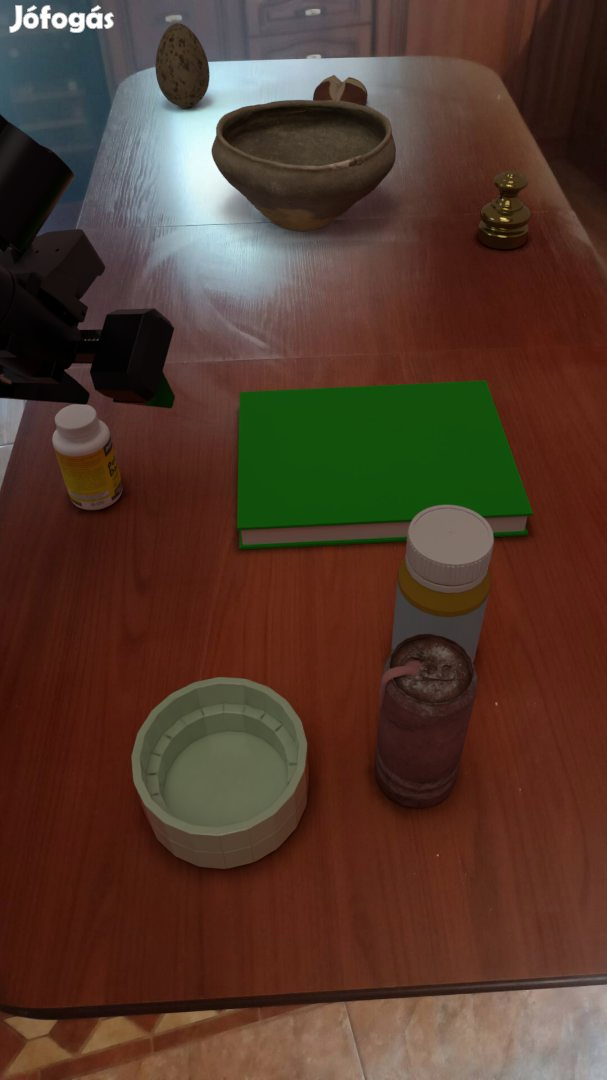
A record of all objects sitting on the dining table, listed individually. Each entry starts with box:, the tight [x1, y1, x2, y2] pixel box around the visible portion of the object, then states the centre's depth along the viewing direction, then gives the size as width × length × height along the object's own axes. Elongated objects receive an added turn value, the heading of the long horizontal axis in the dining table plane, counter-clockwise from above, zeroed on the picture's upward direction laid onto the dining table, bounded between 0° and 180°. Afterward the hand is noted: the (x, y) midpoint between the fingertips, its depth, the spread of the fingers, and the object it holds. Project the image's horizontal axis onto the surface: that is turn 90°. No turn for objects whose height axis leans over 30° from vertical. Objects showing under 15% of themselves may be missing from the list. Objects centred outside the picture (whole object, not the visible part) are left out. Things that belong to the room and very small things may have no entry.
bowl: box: [211, 99, 397, 232], centre depth 124 cm, size 28×28×14 cm
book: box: [236, 379, 534, 551], centre depth 85 cm, size 22×28×3 cm
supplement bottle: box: [51, 404, 124, 511], centre depth 80 cm, size 6×6×10 cm
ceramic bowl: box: [130, 676, 310, 870], centre depth 58 cm, size 12×12×6 cm
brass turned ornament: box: [477, 169, 532, 250], centre depth 118 cm, size 7×7×10 cm
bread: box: [312, 74, 368, 107], centre depth 163 cm, size 11×11×5 cm
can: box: [374, 633, 479, 809], centre depth 56 cm, size 6×6×14 cm
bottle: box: [391, 505, 495, 664], centre depth 63 cm, size 7×7×15 cm
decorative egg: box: [154, 22, 211, 109], centre depth 162 cm, size 11×11×15 cm
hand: (128, 400), depth 67 cm, fingers open, 9 cm apart
